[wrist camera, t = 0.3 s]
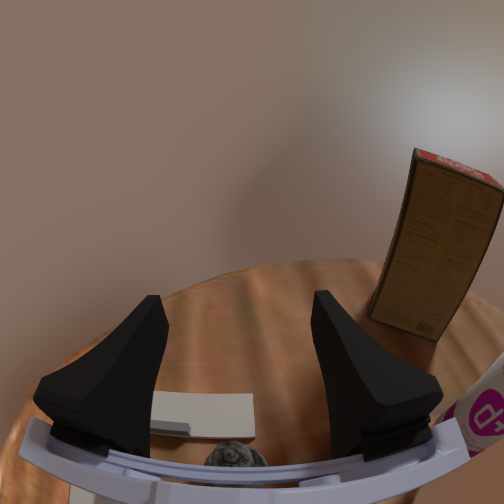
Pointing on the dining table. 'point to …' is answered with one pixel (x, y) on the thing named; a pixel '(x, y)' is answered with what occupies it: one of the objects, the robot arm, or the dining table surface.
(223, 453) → the black chess piece
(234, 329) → the dining table surface
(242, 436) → the board
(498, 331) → the dining table surface
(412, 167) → the food packaging
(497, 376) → the supplement can
